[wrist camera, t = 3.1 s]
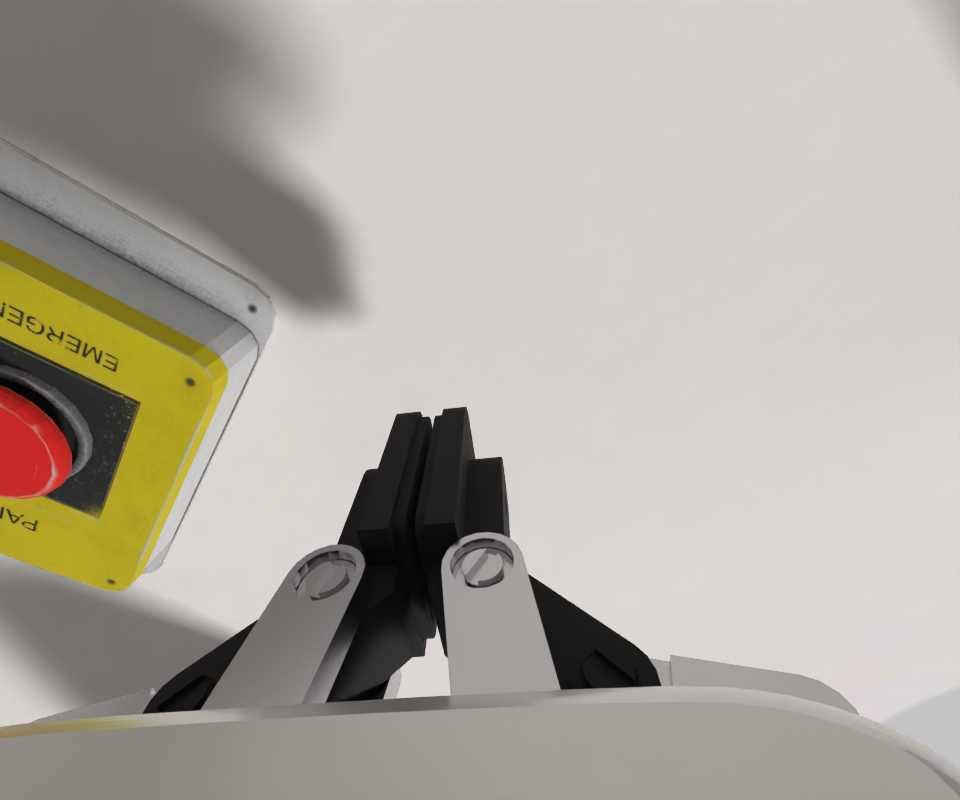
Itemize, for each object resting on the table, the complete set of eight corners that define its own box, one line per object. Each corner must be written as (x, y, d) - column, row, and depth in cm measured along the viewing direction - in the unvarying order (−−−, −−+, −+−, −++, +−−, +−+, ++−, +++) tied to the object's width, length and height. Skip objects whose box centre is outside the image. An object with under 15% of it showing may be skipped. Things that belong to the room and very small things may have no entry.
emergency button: (229, 351, 12) (94, 662, 18) (293, 296, 15) (163, 568, 22) (-248, 102, 9) (-211, 564, 15) (-31, 110, 13) (-72, 477, 19)
